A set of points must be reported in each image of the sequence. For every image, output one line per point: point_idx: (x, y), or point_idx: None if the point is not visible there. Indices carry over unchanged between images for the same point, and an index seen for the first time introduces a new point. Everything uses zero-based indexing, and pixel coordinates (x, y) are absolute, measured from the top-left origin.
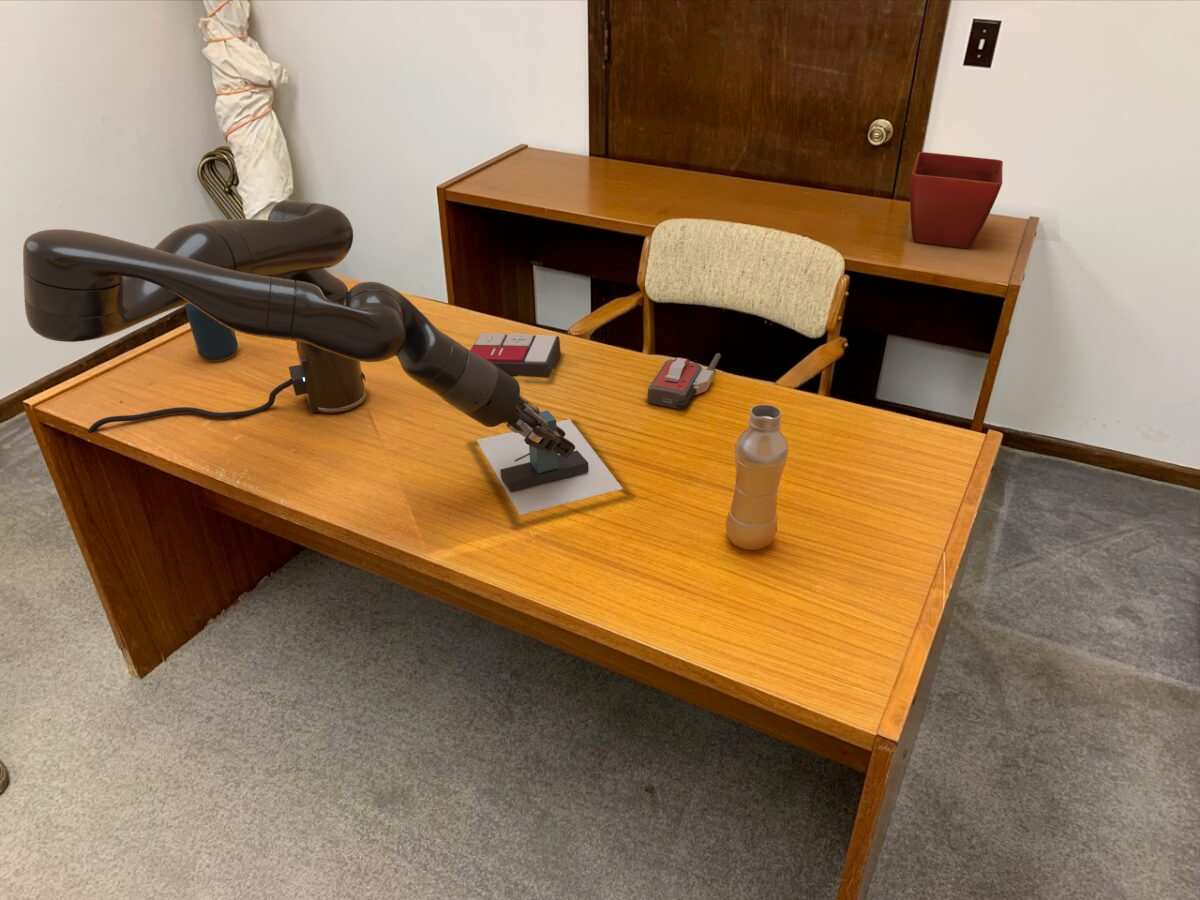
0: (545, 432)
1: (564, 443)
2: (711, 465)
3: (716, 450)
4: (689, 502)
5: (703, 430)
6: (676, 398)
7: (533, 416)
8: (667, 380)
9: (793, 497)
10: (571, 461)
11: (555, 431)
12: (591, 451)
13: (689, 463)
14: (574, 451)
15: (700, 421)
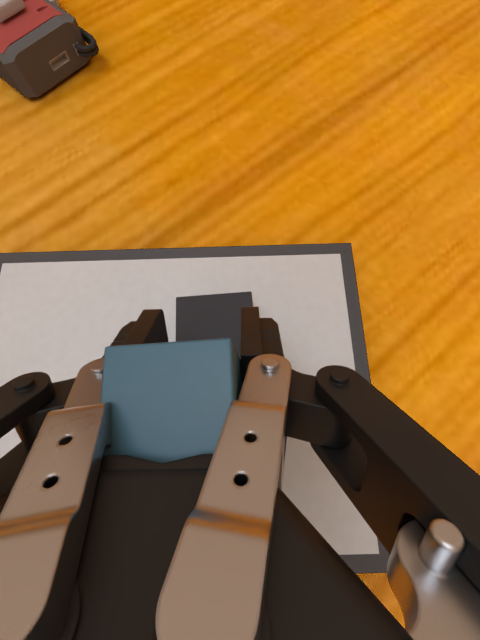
0: (470, 486)
1: (279, 343)
2: (290, 86)
3: (247, 63)
4: (394, 159)
5: (176, 57)
6: (70, 39)
7: (272, 525)
8: (6, 17)
9: (423, 22)
10: (226, 331)
11: (271, 366)
12: (164, 264)
13: (269, 114)
14: (179, 306)
15: (145, 50)
